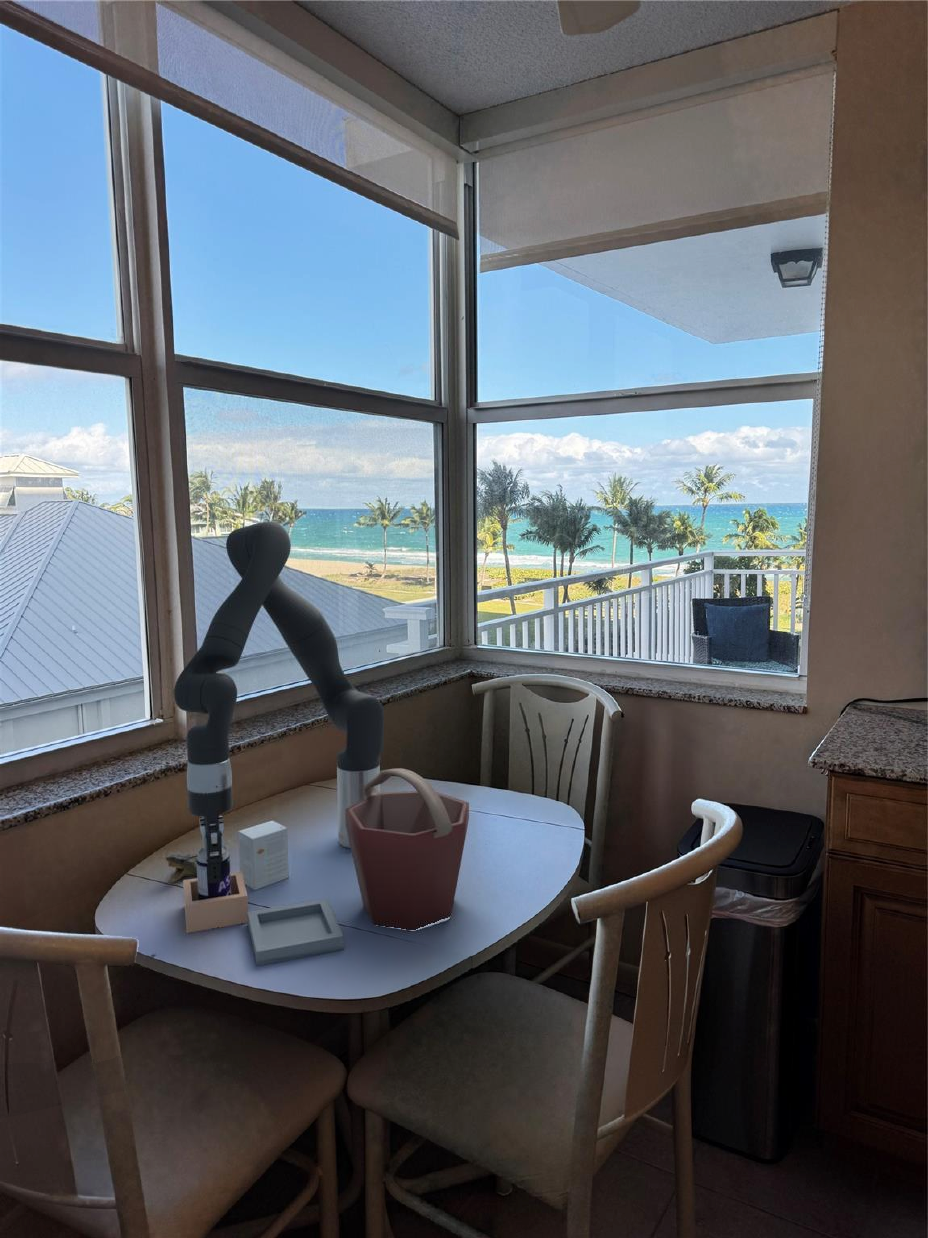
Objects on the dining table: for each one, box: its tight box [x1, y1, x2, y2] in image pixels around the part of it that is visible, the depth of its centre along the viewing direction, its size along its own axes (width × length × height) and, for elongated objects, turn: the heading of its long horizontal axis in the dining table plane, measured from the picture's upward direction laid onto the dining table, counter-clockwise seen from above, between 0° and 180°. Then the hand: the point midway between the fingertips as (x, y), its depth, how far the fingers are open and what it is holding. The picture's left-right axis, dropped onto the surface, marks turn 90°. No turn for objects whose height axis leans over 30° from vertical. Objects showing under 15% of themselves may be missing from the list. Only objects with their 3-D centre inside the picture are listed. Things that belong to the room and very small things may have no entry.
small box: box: [237, 820, 290, 891], centre depth 161 cm, size 8×6×10 cm
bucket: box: [345, 767, 470, 930], centre depth 149 cm, size 24×22×25 cm
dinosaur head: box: [165, 853, 199, 883], centre depth 162 cm, size 8×6×7 cm
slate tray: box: [247, 898, 345, 967], centre depth 140 cm, size 14×14×2 cm
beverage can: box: [196, 845, 231, 900], centre depth 147 cm, size 6×6×12 cm
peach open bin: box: [182, 871, 249, 934], centre depth 148 cm, size 10×10×5 cm
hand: (213, 874), depth 147 cm, fingers closed on beverage can, 5 cm apart
